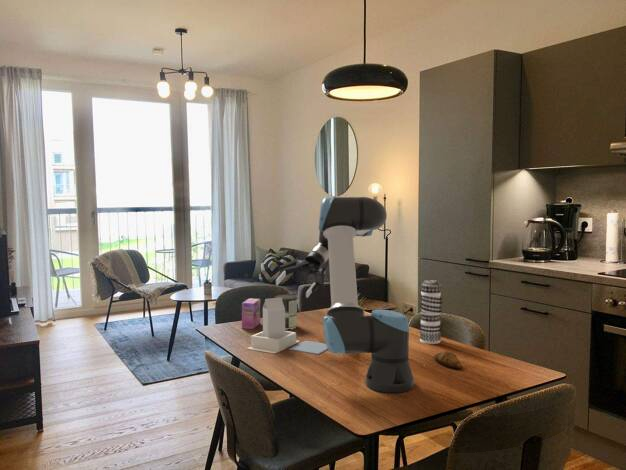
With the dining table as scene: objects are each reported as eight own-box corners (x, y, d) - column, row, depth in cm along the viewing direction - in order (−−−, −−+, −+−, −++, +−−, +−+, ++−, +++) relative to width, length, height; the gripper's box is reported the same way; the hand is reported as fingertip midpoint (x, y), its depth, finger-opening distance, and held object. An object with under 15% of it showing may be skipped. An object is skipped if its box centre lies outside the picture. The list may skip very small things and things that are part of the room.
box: (253, 329, 236) (253, 303, 235) (241, 328, 237) (241, 302, 236) (260, 323, 246) (260, 298, 245) (249, 323, 247) (248, 298, 246)
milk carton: (285, 346, 209) (285, 299, 207) (268, 348, 206) (267, 300, 205) (279, 342, 216) (279, 296, 214) (262, 343, 213) (262, 297, 211)
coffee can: (277, 330, 233) (277, 299, 232) (272, 325, 243) (272, 295, 242) (300, 328, 236) (300, 297, 235) (294, 323, 246) (293, 293, 245)
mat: (318, 354, 198) (318, 353, 198) (288, 349, 205) (288, 348, 205) (333, 345, 210) (333, 345, 210) (305, 341, 216) (305, 340, 216)
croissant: (467, 369, 183) (468, 354, 182) (452, 371, 180) (452, 357, 180) (443, 358, 195) (443, 344, 195) (428, 360, 192) (428, 347, 192)
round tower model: (414, 340, 217) (414, 280, 215) (427, 336, 223) (428, 278, 221) (432, 345, 210) (433, 283, 208) (446, 341, 217) (447, 280, 215)
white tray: (274, 353, 199) (274, 342, 199) (246, 349, 206) (246, 337, 205) (300, 341, 216) (299, 330, 216) (273, 337, 222) (273, 326, 222)
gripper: (342, 275, 219) (319, 307, 204) (290, 255, 228) (264, 284, 213) (344, 261, 215) (320, 293, 200) (291, 241, 223) (264, 270, 208)
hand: (291, 288), depth 206 cm, fingers open, 13 cm apart
